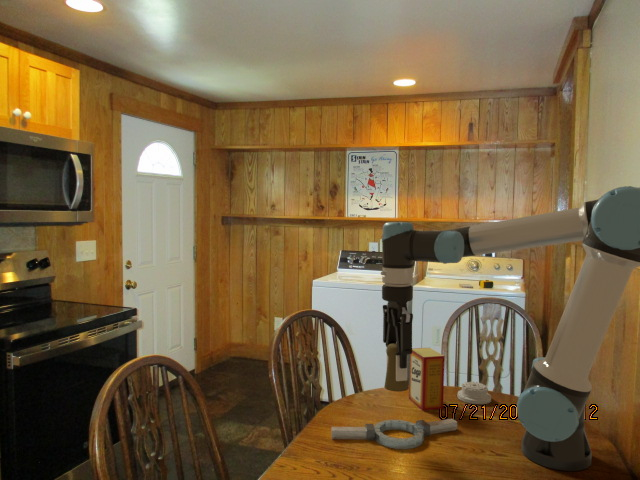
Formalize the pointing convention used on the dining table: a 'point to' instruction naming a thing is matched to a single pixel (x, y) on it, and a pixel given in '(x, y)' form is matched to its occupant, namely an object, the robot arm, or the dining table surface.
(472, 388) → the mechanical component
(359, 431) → the grey flat ringed bar
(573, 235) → the robot arm
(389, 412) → the dining table surface
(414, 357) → the baking soda box
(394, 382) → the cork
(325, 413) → the dining table surface
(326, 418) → the dining table surface
